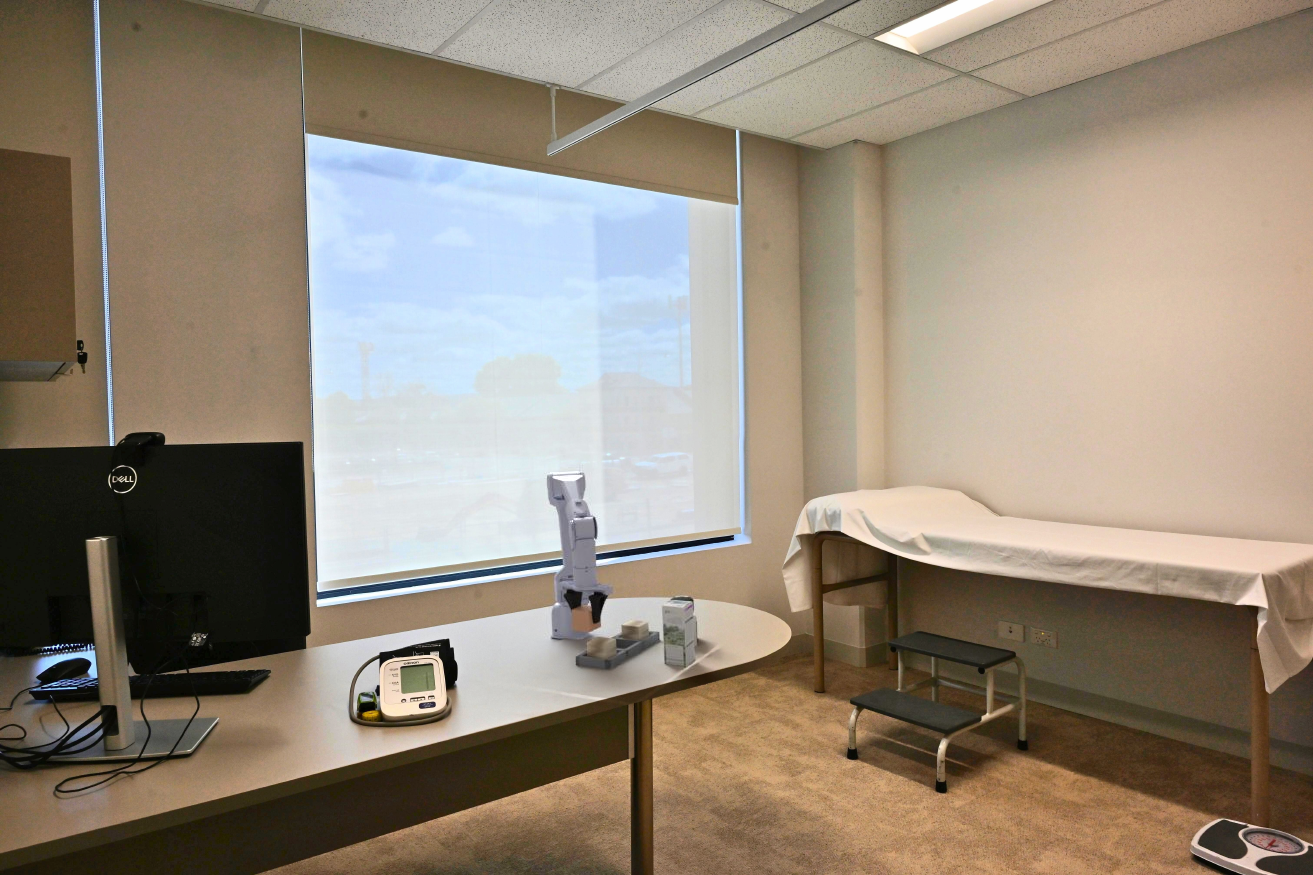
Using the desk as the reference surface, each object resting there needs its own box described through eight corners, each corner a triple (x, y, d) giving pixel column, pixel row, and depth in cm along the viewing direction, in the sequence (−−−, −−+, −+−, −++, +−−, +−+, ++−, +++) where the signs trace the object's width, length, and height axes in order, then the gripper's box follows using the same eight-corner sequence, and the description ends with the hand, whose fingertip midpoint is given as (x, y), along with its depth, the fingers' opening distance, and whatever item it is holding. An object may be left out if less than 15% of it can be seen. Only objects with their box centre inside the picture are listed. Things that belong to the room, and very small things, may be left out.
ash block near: (587, 663, 192) (586, 642, 192) (599, 657, 196) (598, 636, 196) (605, 665, 190) (604, 644, 189) (616, 659, 194) (615, 638, 194)
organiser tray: (575, 667, 191) (575, 656, 191) (629, 638, 213) (628, 628, 213) (608, 672, 187) (608, 660, 187) (659, 641, 209) (659, 631, 209)
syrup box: (695, 660, 193) (693, 600, 192) (686, 668, 187) (683, 606, 187) (673, 658, 195) (671, 598, 194) (663, 666, 190) (661, 604, 189)
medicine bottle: (697, 648, 203) (696, 600, 202) (669, 648, 203) (667, 601, 202) (696, 639, 210) (695, 593, 209) (669, 640, 210) (667, 594, 209)
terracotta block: (572, 629, 198) (571, 609, 198) (584, 624, 202) (583, 604, 202) (589, 632, 196) (588, 611, 195) (601, 626, 200) (600, 606, 200)
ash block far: (622, 644, 206) (621, 624, 206) (632, 638, 210) (631, 619, 210) (639, 646, 204) (638, 626, 203) (649, 640, 208) (648, 621, 208)
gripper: (550, 567, 198) (553, 622, 199) (600, 571, 191) (603, 628, 192) (567, 562, 205) (569, 615, 205) (616, 565, 197) (618, 621, 198)
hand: (586, 621), depth 199 cm, fingers closed on terracotta block, 5 cm apart
